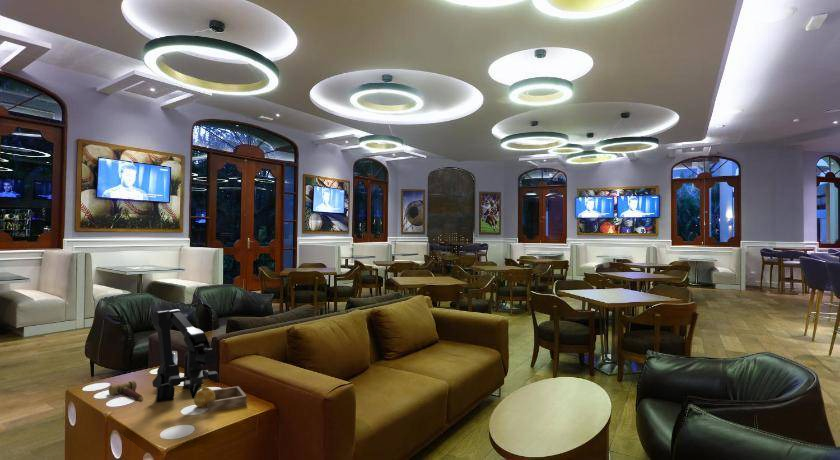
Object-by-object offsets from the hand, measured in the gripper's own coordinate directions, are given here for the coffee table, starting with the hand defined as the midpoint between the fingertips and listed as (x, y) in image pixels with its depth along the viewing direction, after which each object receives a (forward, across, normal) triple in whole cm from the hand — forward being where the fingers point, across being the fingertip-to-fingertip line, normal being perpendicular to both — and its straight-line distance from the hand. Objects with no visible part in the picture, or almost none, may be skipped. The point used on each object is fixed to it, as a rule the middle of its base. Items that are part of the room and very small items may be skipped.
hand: (192, 398), depth 192 cm
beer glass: (+4, -5, +42) cm, 43 cm away
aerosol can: (+4, +4, +30) cm, 31 cm away
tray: (+4, +13, 0) cm, 13 cm away
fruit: (+4, +5, 0) cm, 7 cm away
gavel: (+5, -21, +29) cm, 37 cm away
